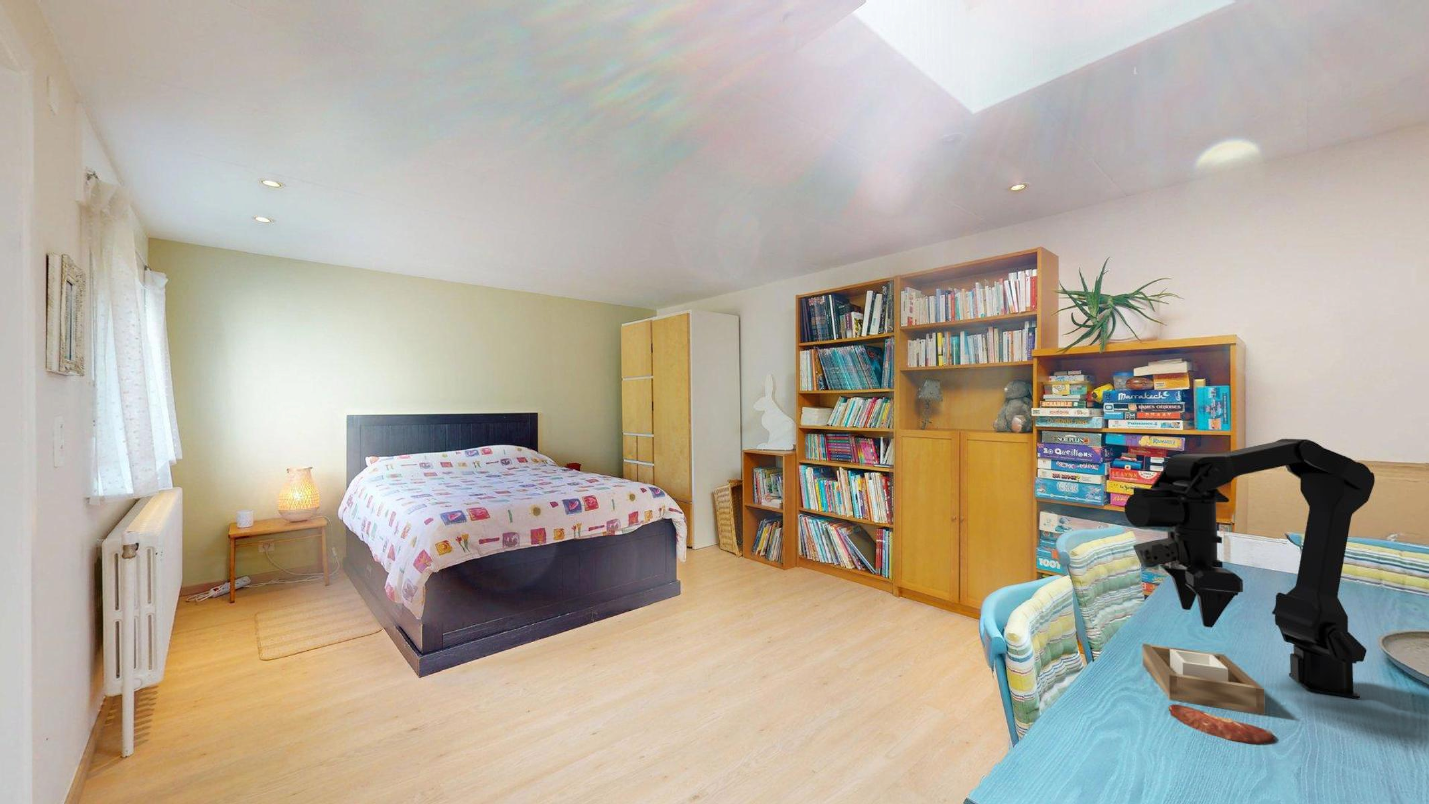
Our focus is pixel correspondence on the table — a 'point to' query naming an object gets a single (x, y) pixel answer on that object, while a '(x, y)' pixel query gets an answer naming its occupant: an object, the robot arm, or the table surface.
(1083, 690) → the table surface
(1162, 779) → the table surface
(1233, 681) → the walnut crate
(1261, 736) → the steak
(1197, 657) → the cream crate
